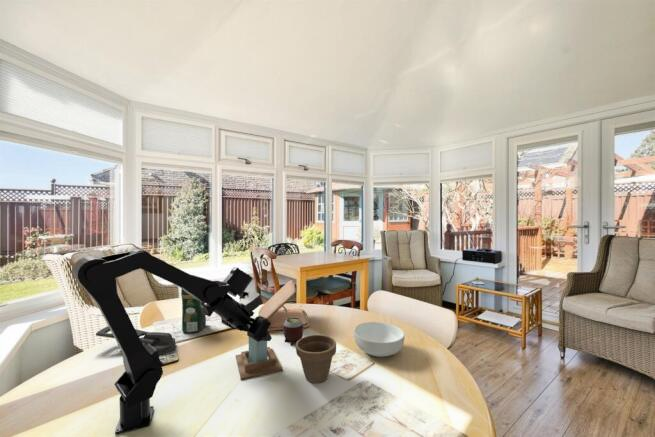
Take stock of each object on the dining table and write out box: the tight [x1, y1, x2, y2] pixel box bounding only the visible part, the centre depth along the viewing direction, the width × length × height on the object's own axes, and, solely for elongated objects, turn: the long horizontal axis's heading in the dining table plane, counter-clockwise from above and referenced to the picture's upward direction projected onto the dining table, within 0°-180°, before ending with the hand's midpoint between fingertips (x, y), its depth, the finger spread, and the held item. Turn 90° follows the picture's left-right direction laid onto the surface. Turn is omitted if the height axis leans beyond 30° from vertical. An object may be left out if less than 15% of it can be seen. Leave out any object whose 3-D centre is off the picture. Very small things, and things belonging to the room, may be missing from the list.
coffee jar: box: [180, 288, 207, 334], centre depth 118 cm, size 10×8×19 cm
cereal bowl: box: [353, 321, 405, 358], centre depth 99 cm, size 17×17×7 cm
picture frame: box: [235, 346, 284, 381], centre depth 91 cm, size 14×12×2 cm
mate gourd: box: [280, 304, 304, 347], centre depth 106 cm, size 8×8×15 cm
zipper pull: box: [95, 325, 176, 355], centre depth 102 cm, size 9×7×25 cm
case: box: [257, 279, 310, 332], centre depth 126 cm, size 20×21×16 cm
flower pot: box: [295, 334, 337, 384], centre depth 84 cm, size 12×11×10 cm
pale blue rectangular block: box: [248, 317, 268, 363], centre depth 91 cm, size 4×4×13 cm
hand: (261, 335), depth 92 cm, fingers open, 9 cm apart
